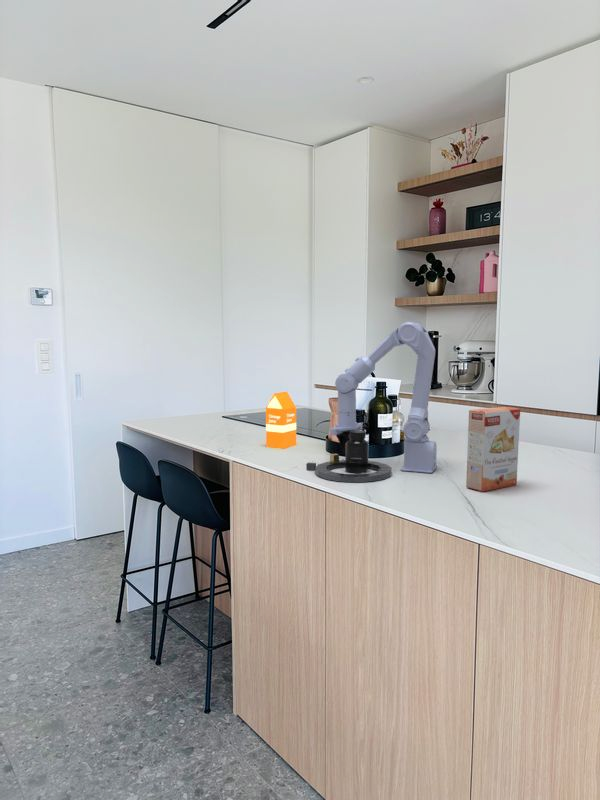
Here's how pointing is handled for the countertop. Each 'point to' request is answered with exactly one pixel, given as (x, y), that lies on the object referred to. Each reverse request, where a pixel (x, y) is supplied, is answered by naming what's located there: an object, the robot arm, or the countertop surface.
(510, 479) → the cracker box
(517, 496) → the countertop surface
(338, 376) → the robot arm
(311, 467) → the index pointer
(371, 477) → the ring
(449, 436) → the countertop surface
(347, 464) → the supplement bottle
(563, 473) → the countertop surface
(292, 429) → the orange juice
